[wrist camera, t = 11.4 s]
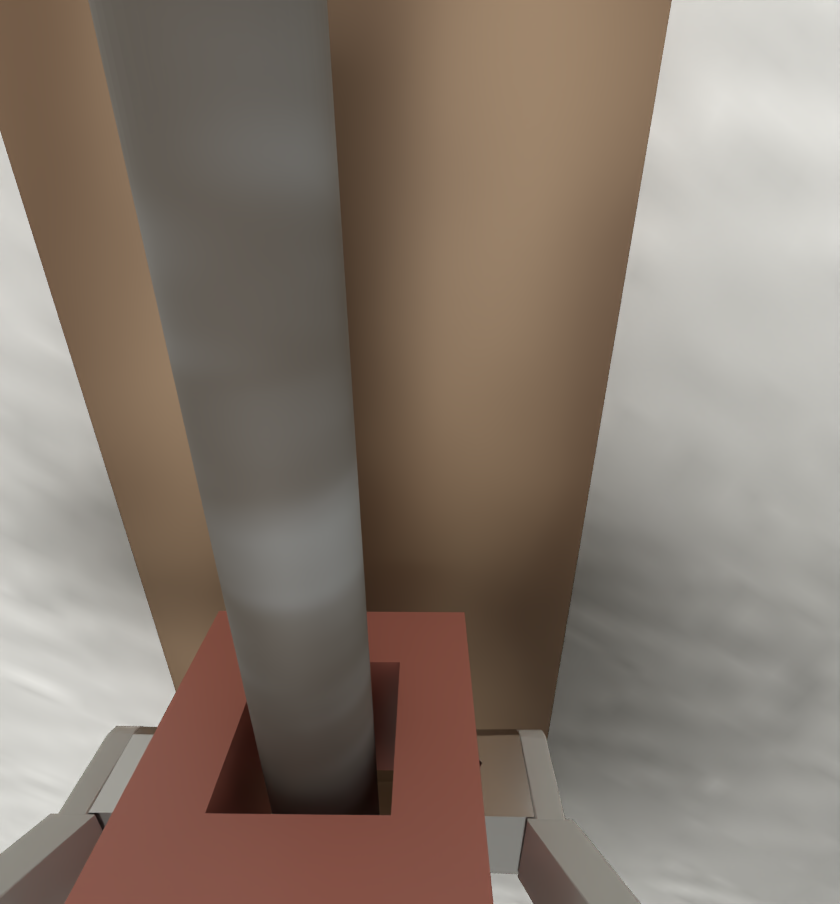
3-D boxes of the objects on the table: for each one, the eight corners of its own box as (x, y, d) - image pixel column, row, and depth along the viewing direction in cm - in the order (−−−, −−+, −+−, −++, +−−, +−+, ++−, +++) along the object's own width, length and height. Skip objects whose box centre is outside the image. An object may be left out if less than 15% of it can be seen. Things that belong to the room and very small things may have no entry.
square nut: (464, 612, 11) (496, 941, 6) (459, 715, 13) (482, 1048, 8) (219, 610, 11) (47, 935, 6) (243, 714, 13) (121, 1042, 8)
